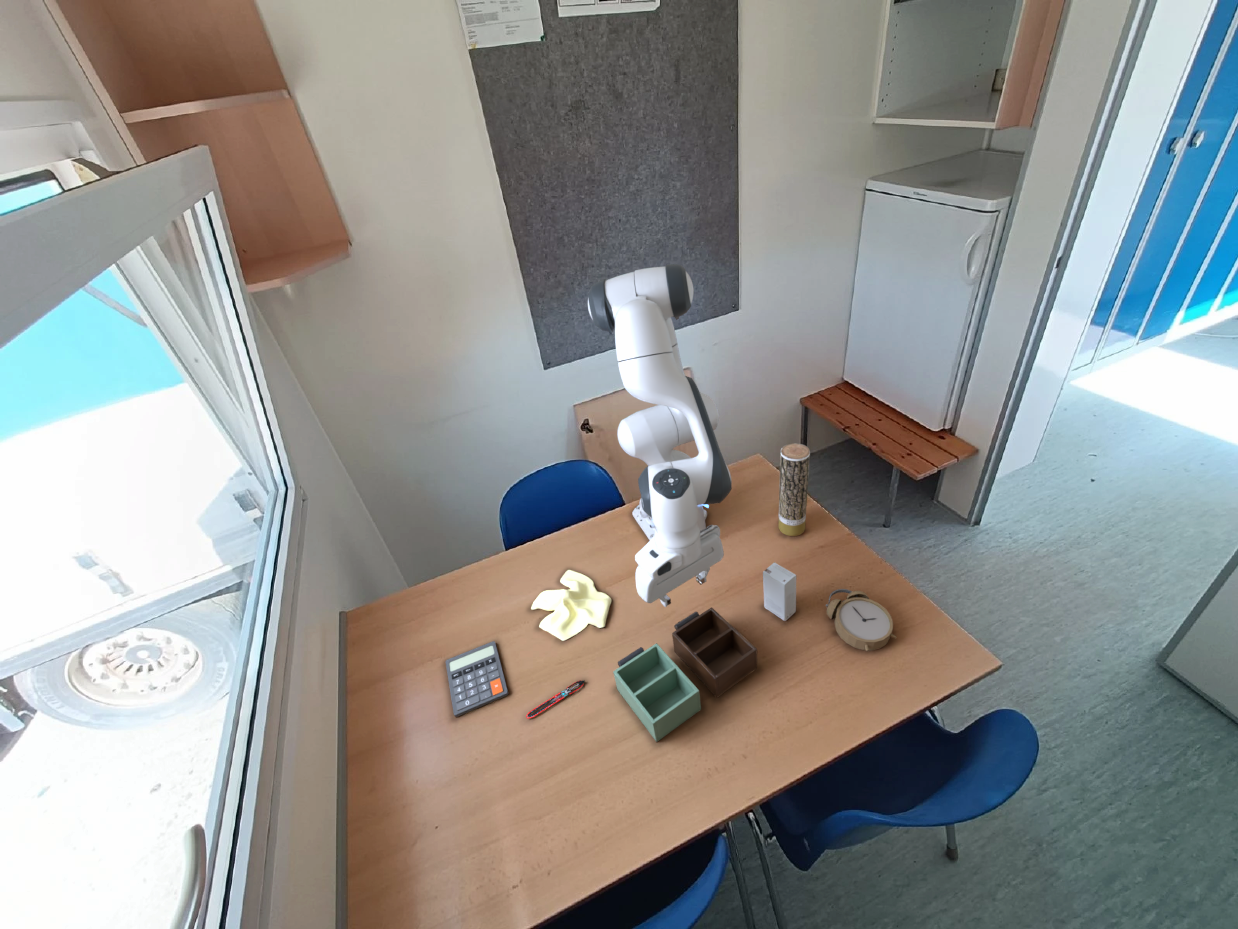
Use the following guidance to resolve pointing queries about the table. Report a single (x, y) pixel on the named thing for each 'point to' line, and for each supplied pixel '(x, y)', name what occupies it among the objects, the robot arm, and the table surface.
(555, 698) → the pen
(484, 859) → the table surface
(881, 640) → the alarm clock
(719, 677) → the walnut shelf
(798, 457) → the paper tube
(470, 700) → the calculator
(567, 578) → the cloth
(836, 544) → the table surface
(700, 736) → the table surface
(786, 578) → the cosmetic box
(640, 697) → the sage shelf
